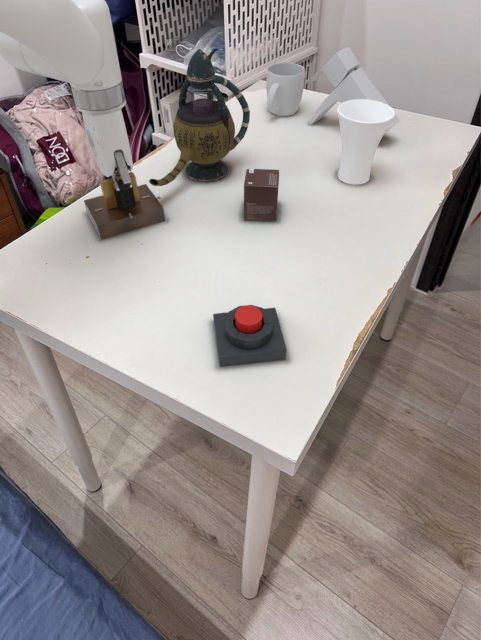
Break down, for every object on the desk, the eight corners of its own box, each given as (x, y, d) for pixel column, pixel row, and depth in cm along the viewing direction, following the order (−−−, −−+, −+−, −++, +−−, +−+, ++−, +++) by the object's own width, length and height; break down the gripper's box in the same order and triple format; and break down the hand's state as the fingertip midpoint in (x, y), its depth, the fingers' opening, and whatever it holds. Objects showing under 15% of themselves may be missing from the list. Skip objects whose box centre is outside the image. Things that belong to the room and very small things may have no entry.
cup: (389, 176, 96) (406, 110, 86) (359, 196, 91) (373, 128, 81) (347, 159, 101) (359, 94, 91) (317, 176, 96) (325, 110, 86)
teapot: (254, 161, 100) (256, 40, 83) (181, 217, 86) (166, 85, 69) (208, 147, 105) (202, 29, 88) (132, 198, 91) (107, 69, 74)
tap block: (102, 242, 81) (98, 227, 79) (86, 212, 87) (82, 197, 85) (166, 223, 85) (164, 208, 83) (147, 196, 91) (144, 181, 89)
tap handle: (107, 209, 82) (101, 183, 79) (105, 205, 83) (99, 179, 80) (140, 201, 84) (135, 174, 81) (137, 197, 85) (132, 171, 81)
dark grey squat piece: (219, 367, 62) (218, 348, 59) (213, 324, 68) (212, 304, 65) (285, 360, 63) (287, 340, 60) (274, 317, 68) (275, 298, 66)
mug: (275, 101, 122) (277, 59, 114) (306, 108, 119) (311, 66, 111) (252, 120, 114) (253, 76, 107) (285, 127, 111) (288, 83, 104)
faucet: (388, 129, 100) (335, 48, 97) (338, 168, 113) (290, 98, 111) (401, 119, 103) (350, 41, 101) (351, 158, 117) (305, 90, 114)
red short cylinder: (237, 335, 61) (237, 326, 60) (233, 315, 64) (233, 306, 62) (263, 332, 62) (264, 323, 60) (259, 313, 64) (259, 304, 63)
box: (276, 223, 85) (278, 187, 79) (243, 221, 85) (243, 185, 80) (277, 204, 89) (279, 169, 83) (246, 202, 89) (246, 167, 84)
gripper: (60, 80, 74) (88, 183, 87) (89, 121, 64) (116, 230, 77) (106, 72, 76) (127, 173, 90) (141, 110, 66) (158, 218, 79)
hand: (121, 198), depth 83 cm, fingers open, 4 cm apart
